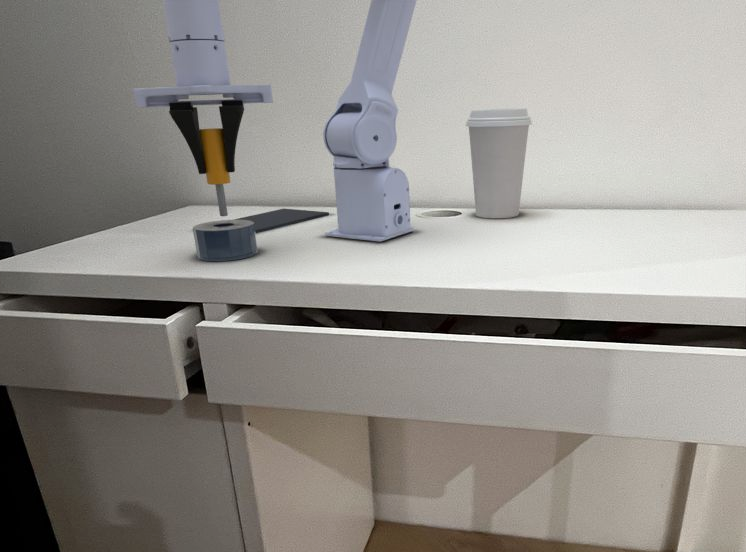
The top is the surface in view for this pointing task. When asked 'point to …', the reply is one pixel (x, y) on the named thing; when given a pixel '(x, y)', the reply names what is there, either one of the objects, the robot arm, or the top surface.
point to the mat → (281, 218)
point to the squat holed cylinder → (225, 240)
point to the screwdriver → (215, 163)
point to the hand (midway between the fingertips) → (217, 172)
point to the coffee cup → (498, 159)
